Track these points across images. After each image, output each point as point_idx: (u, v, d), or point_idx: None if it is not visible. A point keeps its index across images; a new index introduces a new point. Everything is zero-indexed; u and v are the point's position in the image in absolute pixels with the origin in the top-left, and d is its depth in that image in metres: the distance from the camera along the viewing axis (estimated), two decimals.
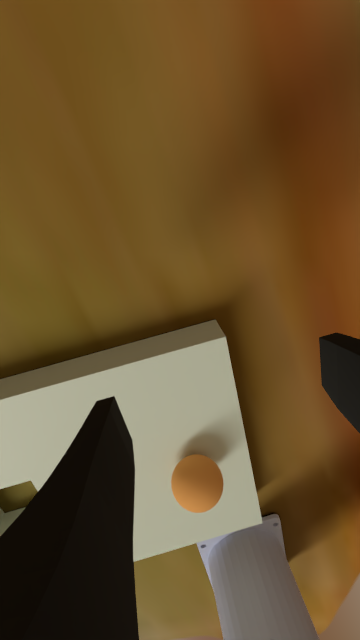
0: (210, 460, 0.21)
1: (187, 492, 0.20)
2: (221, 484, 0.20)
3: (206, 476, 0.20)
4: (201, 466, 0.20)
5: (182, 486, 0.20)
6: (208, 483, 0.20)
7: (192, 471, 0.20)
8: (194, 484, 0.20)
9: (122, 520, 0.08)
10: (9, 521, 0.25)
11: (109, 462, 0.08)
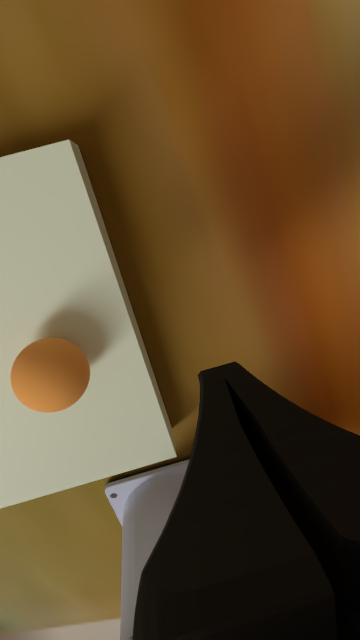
0: (70, 343, 0.15)
1: (21, 376, 0.13)
2: (77, 370, 0.14)
3: (51, 355, 0.14)
4: (49, 344, 0.14)
5: (16, 369, 0.14)
6: (52, 364, 0.13)
7: (33, 349, 0.14)
8: (30, 365, 0.13)
9: None
10: None
11: None
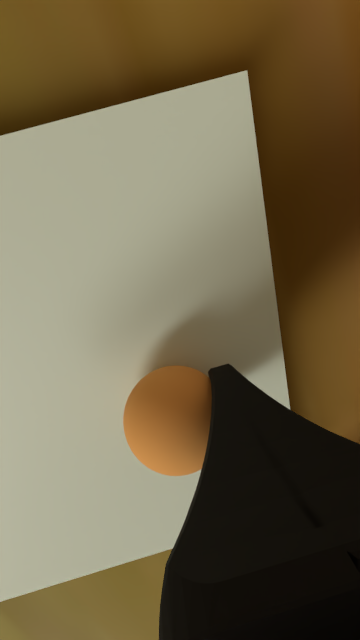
0: (206, 377, 0.10)
1: (140, 423, 0.09)
2: None
3: (185, 398, 0.09)
4: (181, 379, 0.10)
5: (134, 411, 0.09)
6: (187, 412, 0.09)
7: (159, 385, 0.10)
8: (156, 410, 0.09)
9: None
10: None
11: None
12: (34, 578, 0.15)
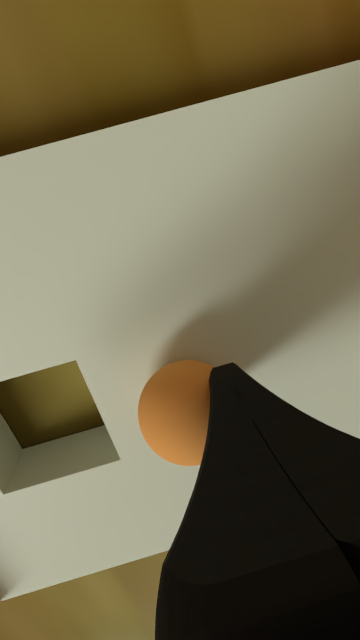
0: (149, 380, 0.11)
1: None
2: None
3: (183, 360, 0.11)
4: (169, 366, 0.11)
5: None
6: None
7: (184, 370, 0.10)
8: (205, 366, 0.10)
9: None
10: (31, 459, 0.15)
11: None
12: None
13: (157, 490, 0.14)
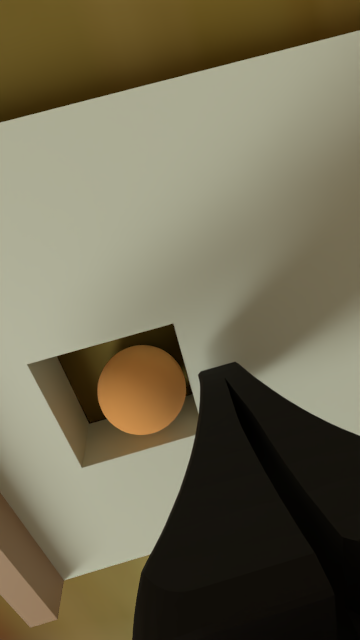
0: (171, 364, 0.12)
1: (103, 379, 0.12)
2: (158, 402, 0.11)
3: (138, 372, 0.11)
4: (144, 357, 0.12)
5: (104, 369, 0.12)
6: (134, 383, 0.11)
7: (127, 356, 0.12)
8: (115, 373, 0.11)
9: None
10: (102, 433, 0.14)
11: None
12: None
13: None
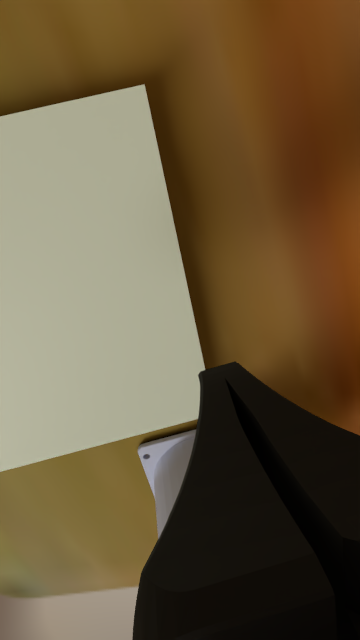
0: None
1: None
2: None
3: None
4: None
5: None
6: None
7: None
8: None
9: None
10: None
11: None
12: (7, 458, 0.20)
13: None
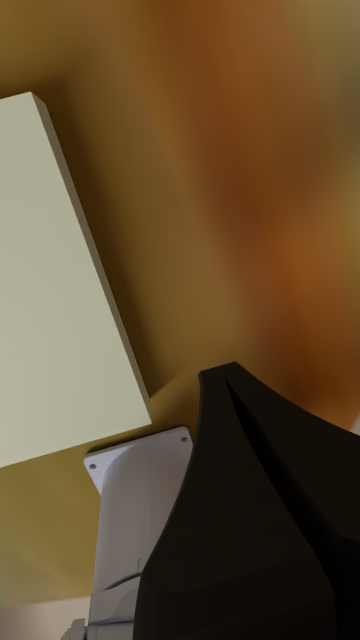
0: None
1: None
2: None
3: None
4: None
5: None
6: None
7: None
8: None
9: None
10: None
11: None
12: None
13: None
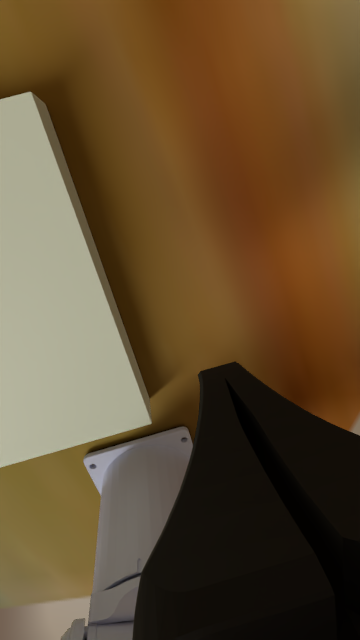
0: None
1: None
2: None
3: None
4: None
5: None
6: None
7: None
8: None
9: None
10: None
11: None
12: None
13: None
